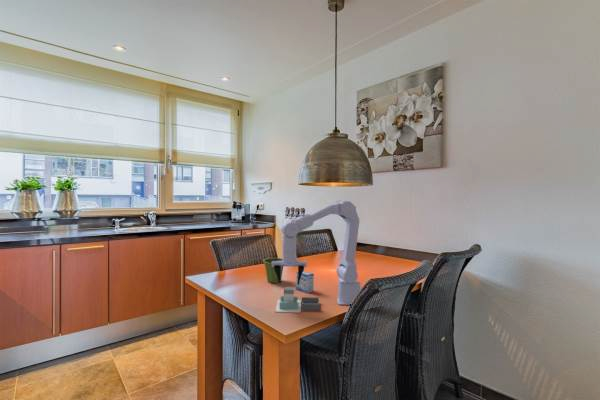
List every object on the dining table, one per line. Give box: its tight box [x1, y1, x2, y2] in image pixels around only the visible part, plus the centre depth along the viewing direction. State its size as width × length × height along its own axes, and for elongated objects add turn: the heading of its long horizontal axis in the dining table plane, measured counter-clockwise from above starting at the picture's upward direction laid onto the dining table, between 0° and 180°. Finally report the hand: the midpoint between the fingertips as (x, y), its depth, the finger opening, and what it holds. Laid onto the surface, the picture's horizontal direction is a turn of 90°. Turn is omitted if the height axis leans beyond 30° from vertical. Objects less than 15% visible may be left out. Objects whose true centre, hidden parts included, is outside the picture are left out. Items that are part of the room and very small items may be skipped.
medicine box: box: [295, 270, 315, 294], centre depth 146 cm, size 8×4×9 cm, turn 45°
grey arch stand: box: [301, 296, 321, 311], centre depth 125 cm, size 7×8×2 cm
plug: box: [283, 286, 295, 302], centre depth 125 cm, size 4×4×7 cm
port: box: [275, 295, 302, 314], centre depth 125 cm, size 10×13×3 cm
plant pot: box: [262, 257, 284, 284], centre depth 160 cm, size 12×12×11 cm
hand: (289, 283), depth 125 cm, fingers open, 7 cm apart
